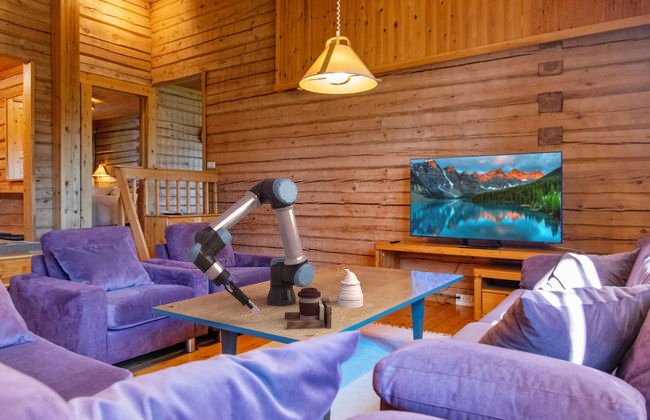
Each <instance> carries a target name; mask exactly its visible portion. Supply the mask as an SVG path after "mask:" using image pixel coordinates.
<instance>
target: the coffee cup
mask: <svg viewBox="0 0 650 420" xmlns="http://www.w3.org/2000/svg"><path fill="white" fill-rule="evenodd" d="M321 294H322V293H321V292H320V291H319V290H318V289H317V288H315V287H301V289H300V291H298V292H297V297H298V312H299V314H300V319H299V321H306V320H318V313H319V300H320V297H322V295H321Z"/></svg>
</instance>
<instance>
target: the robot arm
mask: <svg viewBox="0 0 650 420" xmlns="http://www.w3.org/2000/svg"><path fill="white" fill-rule="evenodd" d="M297 197H298V188H297V185H296V184H295V182H294V181H293V180H292V179H290V178H284V177H275V178H265V179H262V180H260V181H259V182H257V183H255V185H253V186H252V187H251V188H249V189H248V190H247V191H246V192H245V195H244V196H243V197H241V198H240V199H239V200H238V201H236V202H235V203H234V204H232V206H230V207H229V208H228V209H227V210H226V211H224V212H223V213H221V214H220V215H219V216H218V217H217V218H215V219H213V221H212V222H210V223H209V224H208V225H206V226H205V227H204V228H202V229H199V230H195V231H194V232H193V233H192V235H191V243H192V244H193V246H192V247H191V248H190V249H189V250H188V251H187V252H186V253H185V257H186V258H187V259H188V260H189V261H190V262H191V264H193V265H194V267H196V268H197V269H198V270H200V272H201V273H202V274H204V277H205V278H208V280H210V281H211V282H212V283H213V284H214V286H216V287H217V288H219V287H220V286H223V287H224V290H225V291H226V292H227V293H229V294H230V295H231V296H232V297H234V299H236V300H237V301H238V302H239V303H241V306H242V307H246V308H247V309H248V310H249V311H250V312H251V313H252V314H253V315H254V316H257V315H258V314H259V313H260V312H261V310H260V309H259V307H257V306H256V305H255V304H254V302H252V301H251V298H250V296H248V295H246V294H245V293H244V291H243V290H241V288H240V287H239V286H238V285H237V284H236V283H235V281H233V280H232V279H231V280H230V279H229V278H230V276H231V273H230V272H229V271H228V269H226V268H224V266H223V265H222V264H221V263H220V262H219V260H217V259H216V258H215V257H216V256H217V255H218V254H219V253H220V252H221V251H222V250H223V249H224V248H226V246H228V245H229V244H230V242H231V241H232V239H233V238H232V234H231V233H230V232H229V230H230V229H231V228H232V227H234V226H235V225H236V224H237V223H239V222H240V221H241V220H242V219H243V218H244V217H246V216H247V215H248V214H250V213H251V212H252V211H253V210H254V209H255V208H257V209H258V208H260V207H262V206H263V205H265V204H268V203H269V204H270V205H269V206H270V208H271V210H272V211H273V212H275V216H276V220H277V223H278V224H277V225H278V229H279V230H278V231H279V233H280V239H281V242H282V247H283V251H284V255H285V257H279V258H278V257H275V258H272V259H271V260H270V265H269V269H270V271H269V275H270V277H269V279H270V280H269V283H270V284H269V290H268V294H267V297H266V304H268V305H269V306H270V305H271V306H277V307H278V306H279V307H283V306H291V305H295V304H296V303H297V295H296V293H295V290H294V286H295V287H297V288H308V286H309V285H311V284H312V283H313V281H314V279H315V275H316V271H315V268H314V266H313V265H312V264H311V263H309V261H308V257H307V255H305V254H304V251H303V247H302V243H301V238H300V233H299V230H298V229H299V228H298V224H297V220H296V215H295V211H294V207H295V205H296V200H297Z"/></svg>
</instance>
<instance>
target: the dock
mask: <svg viewBox="0 0 650 420" xmlns="http://www.w3.org/2000/svg"><path fill="white" fill-rule="evenodd" d="M321 302H322V304H323V306H324V320H306V321H300V314H299V311H286V312H285V311H284V320H285V321H286V329H287V330H304V329H306V330H307V329H325V326H326V328H327V329H332V315H333V313H332V310H333V309H332V305H331V300H330V298H329V297H322V298H321ZM288 320H289V321H288Z"/></svg>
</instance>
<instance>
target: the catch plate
mask: <svg viewBox="0 0 650 420" xmlns="http://www.w3.org/2000/svg"><path fill="white" fill-rule="evenodd" d="M318 320H324V306H323V304H322V300H320V299H319V313H318Z"/></svg>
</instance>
